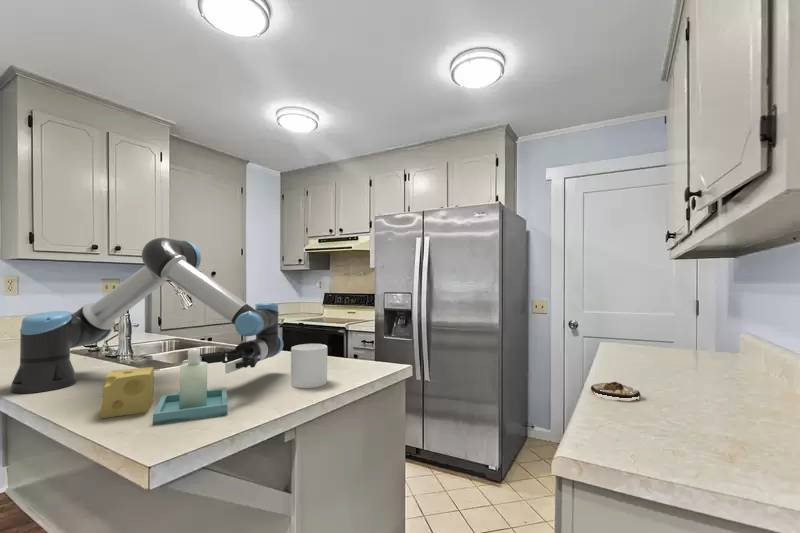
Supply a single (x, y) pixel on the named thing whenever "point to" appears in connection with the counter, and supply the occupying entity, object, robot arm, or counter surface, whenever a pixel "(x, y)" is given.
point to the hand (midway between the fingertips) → (204, 367)
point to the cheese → (127, 392)
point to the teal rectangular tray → (171, 412)
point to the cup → (308, 365)
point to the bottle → (193, 381)
